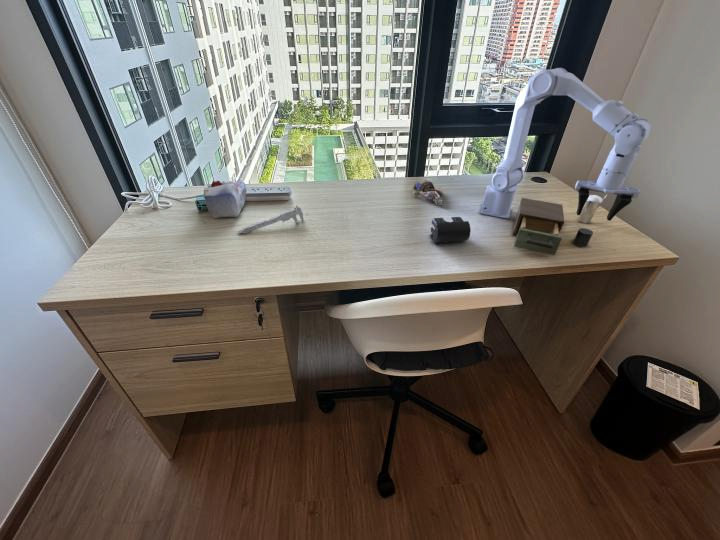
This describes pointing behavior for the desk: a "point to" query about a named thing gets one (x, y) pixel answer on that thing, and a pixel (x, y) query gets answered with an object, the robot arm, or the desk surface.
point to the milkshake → (590, 208)
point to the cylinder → (582, 237)
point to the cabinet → (539, 212)
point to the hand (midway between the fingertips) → (593, 216)
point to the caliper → (276, 219)
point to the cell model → (225, 198)
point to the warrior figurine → (428, 191)
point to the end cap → (450, 230)
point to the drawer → (538, 236)
